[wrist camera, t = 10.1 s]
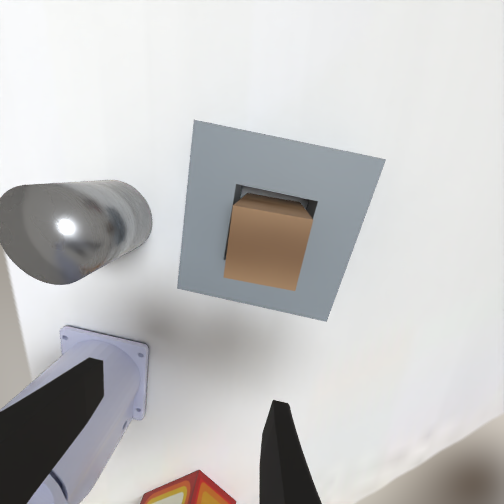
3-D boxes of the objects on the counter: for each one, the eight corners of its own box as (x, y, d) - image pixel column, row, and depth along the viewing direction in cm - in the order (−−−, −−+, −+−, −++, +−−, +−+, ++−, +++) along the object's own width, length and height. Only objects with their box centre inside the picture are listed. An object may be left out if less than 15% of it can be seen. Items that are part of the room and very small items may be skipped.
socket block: (318, 298, 18) (326, 321, 15) (192, 270, 18) (177, 288, 16) (364, 161, 15) (385, 159, 12) (209, 129, 15) (193, 119, 12)
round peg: (150, 255, 18) (95, 293, 13) (86, 241, 18) (3, 273, 13) (154, 188, 17) (91, 197, 11) (83, 173, 17) (-15, 174, 11)
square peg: (288, 251, 17) (295, 291, 12) (240, 242, 17) (223, 277, 12) (299, 202, 16) (313, 219, 10) (247, 193, 16) (233, 205, 10)
